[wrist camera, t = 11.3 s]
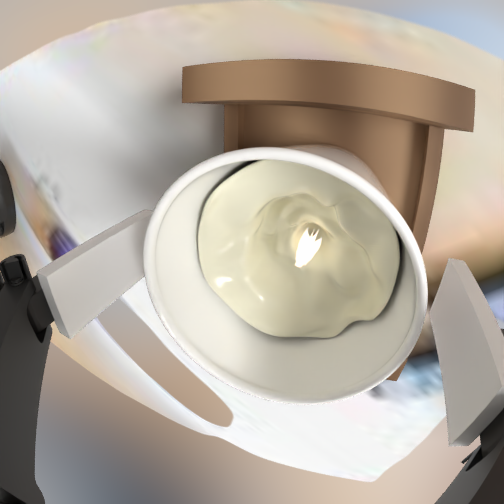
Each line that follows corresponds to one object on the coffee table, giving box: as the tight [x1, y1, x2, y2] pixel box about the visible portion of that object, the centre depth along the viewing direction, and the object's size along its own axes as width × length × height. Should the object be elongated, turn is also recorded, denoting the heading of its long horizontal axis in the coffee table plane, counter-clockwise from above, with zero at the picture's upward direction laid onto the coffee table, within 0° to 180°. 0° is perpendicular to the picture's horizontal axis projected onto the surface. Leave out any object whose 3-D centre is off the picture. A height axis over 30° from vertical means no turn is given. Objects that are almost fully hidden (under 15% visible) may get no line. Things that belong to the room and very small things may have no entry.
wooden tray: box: [182, 59, 475, 381], centre depth 17 cm, size 14×17×7 cm
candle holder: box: [143, 144, 428, 405], centre depth 14 cm, size 10×10×12 cm
